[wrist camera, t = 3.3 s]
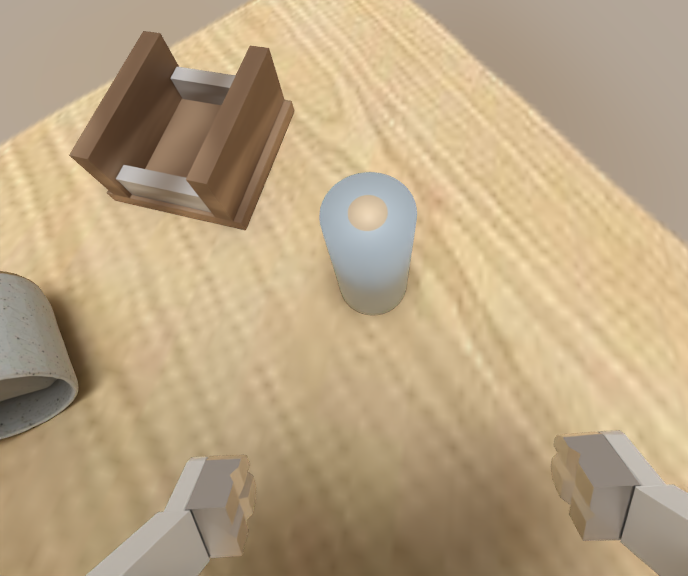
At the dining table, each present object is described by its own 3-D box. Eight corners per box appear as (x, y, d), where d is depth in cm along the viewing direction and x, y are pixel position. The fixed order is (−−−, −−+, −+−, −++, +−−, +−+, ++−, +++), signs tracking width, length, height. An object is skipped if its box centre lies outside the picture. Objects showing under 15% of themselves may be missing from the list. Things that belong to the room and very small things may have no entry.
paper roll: (341, 317, 26) (321, 261, 18) (338, 256, 28) (317, 176, 19) (410, 311, 26) (423, 251, 17) (402, 249, 27) (410, 166, 19)
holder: (115, 200, 31) (61, 153, 26) (173, 90, 34) (136, 30, 29) (245, 229, 29) (215, 185, 24) (294, 110, 32) (277, 49, 27)
